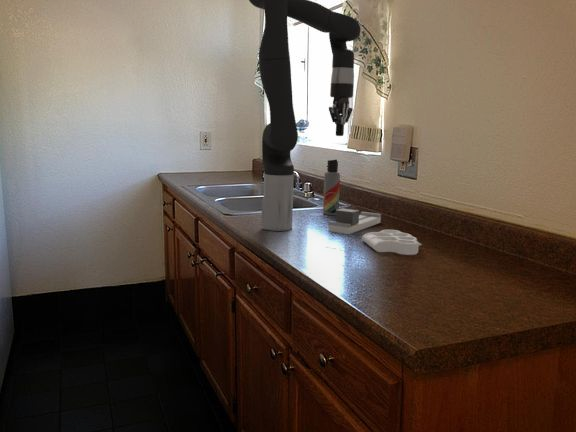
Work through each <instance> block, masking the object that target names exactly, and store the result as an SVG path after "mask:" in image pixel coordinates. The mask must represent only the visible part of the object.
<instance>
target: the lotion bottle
mask: <svg viewBox="0 0 576 432" xmlns="http://www.w3.org/2000/svg"><path fill="white" fill-rule="evenodd" d="M340 183H341V173H340V172H339V160H338V159H330V160H327V170H326V171H324V181H323V205H322V213H323V214H324V215H329V216H332V215H333V216H334V215H336V210H338V209H340V207H339V206H340V190H341V189H340V185H341V184H340Z"/></svg>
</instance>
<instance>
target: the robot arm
mask: <svg viewBox="0 0 576 432" xmlns="http://www.w3.org/2000/svg"><path fill="white" fill-rule="evenodd" d="M248 1H249V2H250V4H252V5H253V6H254V7H255V8H258V9H260V10H263V11H264V18H265V19H264V29H263V34H262V37H261V41H260V45H259V51H258V65H259V66H258V67H259V76H260V80H261V85H262V87H263V91H264V93H265V96H266V99H267V103H268V107H269V108H268V109H269V121H270V123H268V124H267V125H266V126H265V128H264V129H263V133H262V140H261V143H262V144H261V149H262V150H261V153H262V154H261V155H262V156H261V159H262V161H261V162H262V166H263V198H262V199H261V226H260V227H261V229H262V230H266V231H267V230H268V231H271V232H272V231H273V232H281V231H283V232H284V231H290V230H292V229H293V213H294V212H293V206H294V181H295V180H294V175H295V167H294V164H293V162H292V159H291V152H292V150H294V149H295V147H296V146H297V143H298V139H299V133H298V127H297V121H296V117H295V116H296V115H295V111H294V101H293V85H292V70H291V69H292V67H291V65H292V64H291V56H290V48H289V46H290V45H289V44H290V43H289V34H288V33H289V32H288V29H289V28H288V18H291V19H292V20H295V21H298V22H301V23H302V24H304V25H307V26H309V27H310V28H313V29H314V30H317V31H319V32H321V33H323V34H325V33H328V36H329V37H328V39H329V43H330V50H331V54H332V64H331V65H332V67H331V74H330V91H329V96H330V97H331V98H333V100H332V106H329V107H328V111H329V114H330V118H331V121H332V123H335V136H336V137H343V136H344V132H345V125H346V123H347V124H348V122H349V119H350V117H351V115H352V112H353V107H350V98H353V97H354V85H355V83H354V82H355V73H354V63H355V53H354V51H353V50H352V49H349V48H348V46H347V42H352V41H353V42H354V41H355V40H358V38H359V36H360V34H361V31H362V30H361V25H360V23H359V22H358V21H357V20H356V19H355V18H354V17H352V16H350V15H347V14H344V13H340V12H336V11H333V10H331V9H330V8H327V7H326V6H324V5H321V4H320V3H318V2H315V1H312V0H248Z"/></svg>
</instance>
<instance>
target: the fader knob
mask: <svg viewBox="0 0 576 432" xmlns="http://www.w3.org/2000/svg"><path fill="white" fill-rule="evenodd" d="M359 215H360V209H359V210H358V209H350V208H342V207H341V208H339V209H338V210H336V215H335V217H334V218H335V219H334V222H340V223H347V224H351V225H354V224H357V223H359Z"/></svg>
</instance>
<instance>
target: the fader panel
mask: <svg viewBox="0 0 576 432" xmlns="http://www.w3.org/2000/svg"><path fill="white" fill-rule="evenodd" d="M381 219H382V214H381V213H378V212H377V213H376V212H368V211H361V212H360V214H359V223H357V224H354V225H351V224H347V223H340V222H335V221H332V220H330V221H328V232H331V233H332V232H333V233H338V234H345V235H351V234H353V233H356V232H358V231H361V230H363V229H366V228H369V227H372V226H375V225H378V224H380V223H381Z"/></svg>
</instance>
